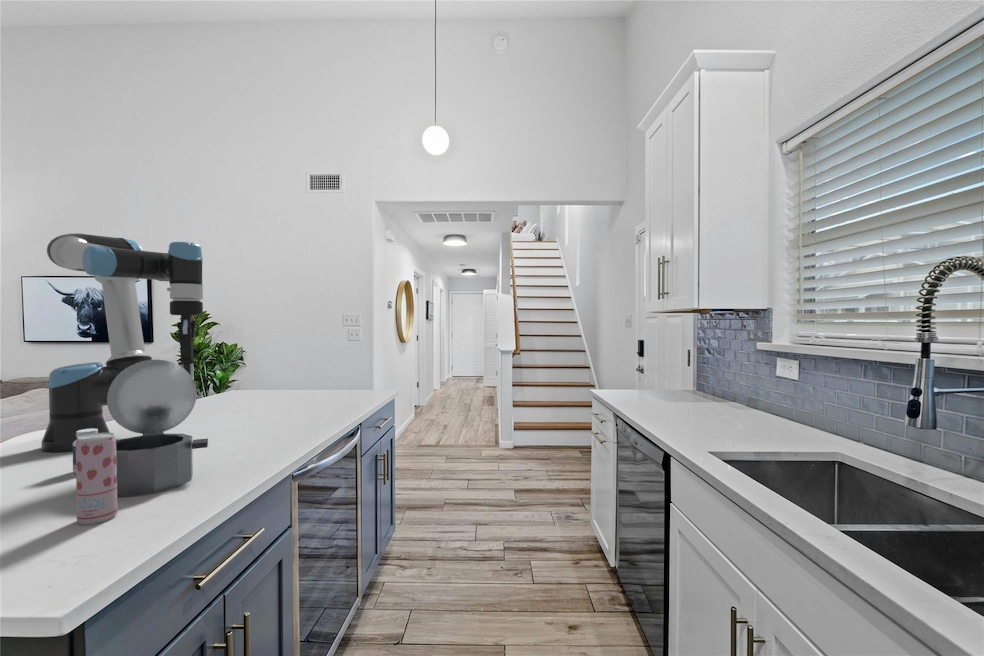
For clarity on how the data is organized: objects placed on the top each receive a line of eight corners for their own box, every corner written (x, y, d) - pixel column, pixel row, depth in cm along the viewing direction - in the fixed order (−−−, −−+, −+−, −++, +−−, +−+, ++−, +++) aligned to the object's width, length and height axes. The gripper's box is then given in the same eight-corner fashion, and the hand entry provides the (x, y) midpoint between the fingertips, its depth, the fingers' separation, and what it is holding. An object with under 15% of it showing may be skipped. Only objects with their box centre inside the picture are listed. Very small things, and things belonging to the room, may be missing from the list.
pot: (90, 480, 108) (90, 440, 108) (209, 465, 119) (209, 429, 119) (68, 505, 93) (67, 459, 93) (206, 485, 104) (205, 444, 104)
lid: (106, 440, 110) (108, 440, 112) (196, 432, 118) (197, 431, 120) (107, 361, 112) (110, 362, 115) (196, 358, 121) (197, 359, 123)
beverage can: (71, 527, 83) (69, 441, 83) (83, 515, 89) (82, 434, 88) (111, 521, 86) (110, 437, 85) (121, 510, 91) (120, 431, 91)
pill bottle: (85, 474, 112) (84, 433, 112) (66, 473, 113) (66, 432, 113) (108, 468, 118) (107, 428, 117) (90, 466, 119) (89, 427, 118)
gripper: (172, 301, 134) (173, 386, 134) (166, 299, 122) (168, 392, 122) (203, 301, 137) (205, 384, 137) (201, 299, 126) (202, 390, 126)
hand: (187, 388), depth 130 cm, fingers closed
